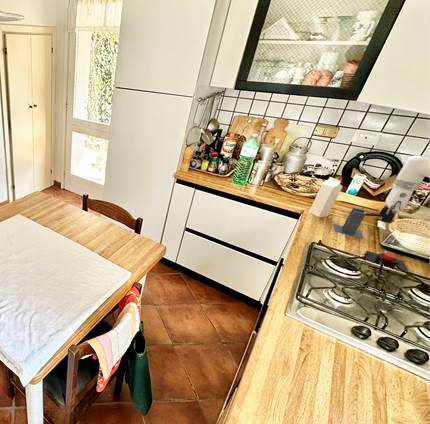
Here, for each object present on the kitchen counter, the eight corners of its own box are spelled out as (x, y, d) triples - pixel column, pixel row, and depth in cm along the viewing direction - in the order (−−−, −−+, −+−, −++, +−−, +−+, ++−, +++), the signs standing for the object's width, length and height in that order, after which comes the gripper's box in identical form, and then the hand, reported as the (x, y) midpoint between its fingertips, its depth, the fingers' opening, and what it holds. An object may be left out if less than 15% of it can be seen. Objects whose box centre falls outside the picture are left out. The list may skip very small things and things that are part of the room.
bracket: (360, 232, 154) (373, 210, 148) (362, 240, 148) (376, 217, 141) (332, 225, 160) (344, 204, 154) (333, 232, 153) (345, 210, 147)
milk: (317, 218, 166) (336, 181, 155) (307, 213, 171) (325, 177, 160) (327, 217, 167) (346, 180, 156) (316, 212, 172) (334, 176, 162)
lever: (388, 216, 144) (389, 211, 143) (390, 220, 140) (391, 215, 140) (352, 213, 151) (353, 209, 151) (353, 217, 148) (354, 213, 147)
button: (393, 258, 130) (395, 254, 129) (394, 262, 127) (397, 258, 126) (381, 254, 132) (384, 251, 131) (383, 258, 129) (385, 255, 128)
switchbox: (400, 264, 132) (406, 257, 130) (405, 276, 125) (411, 269, 123) (363, 254, 138) (368, 247, 136) (366, 265, 131) (371, 257, 129)
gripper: (422, 192, 127) (398, 229, 135) (413, 180, 139) (392, 214, 147) (397, 187, 131) (375, 223, 139) (391, 176, 143) (371, 209, 151)
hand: (384, 218), depth 143 cm, fingers open, 6 cm apart
